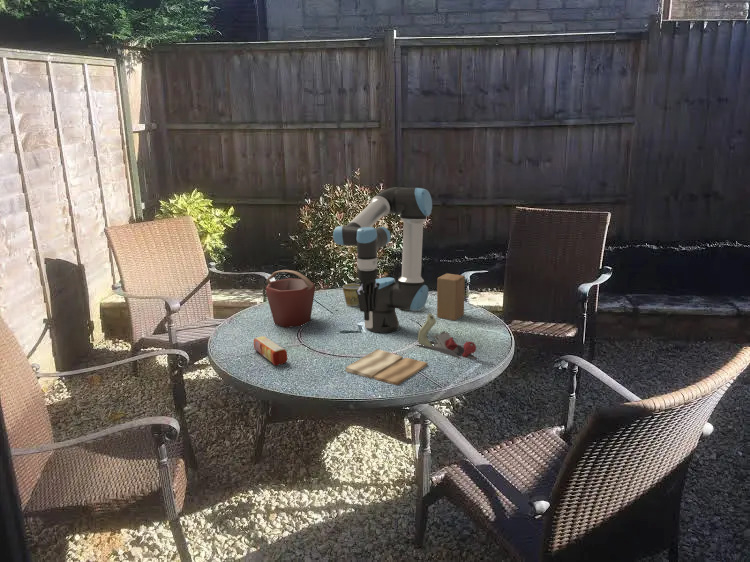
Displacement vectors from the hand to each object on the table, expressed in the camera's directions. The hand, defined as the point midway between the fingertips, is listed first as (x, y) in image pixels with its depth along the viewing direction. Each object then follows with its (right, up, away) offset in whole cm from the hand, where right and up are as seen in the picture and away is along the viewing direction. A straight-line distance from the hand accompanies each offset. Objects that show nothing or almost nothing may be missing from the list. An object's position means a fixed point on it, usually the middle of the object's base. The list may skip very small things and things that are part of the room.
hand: (368, 327), depth 245 cm
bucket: (-37, -2, +59) cm, 69 cm away
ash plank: (+3, -16, +3) cm, 16 cm away
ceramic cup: (-8, +6, +84) cm, 85 cm away
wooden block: (+39, +1, +62) cm, 73 cm away
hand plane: (+32, -12, +18) cm, 38 cm away
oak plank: (+13, -18, -4) cm, 22 cm away
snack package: (-41, -14, +15) cm, 46 cm away
